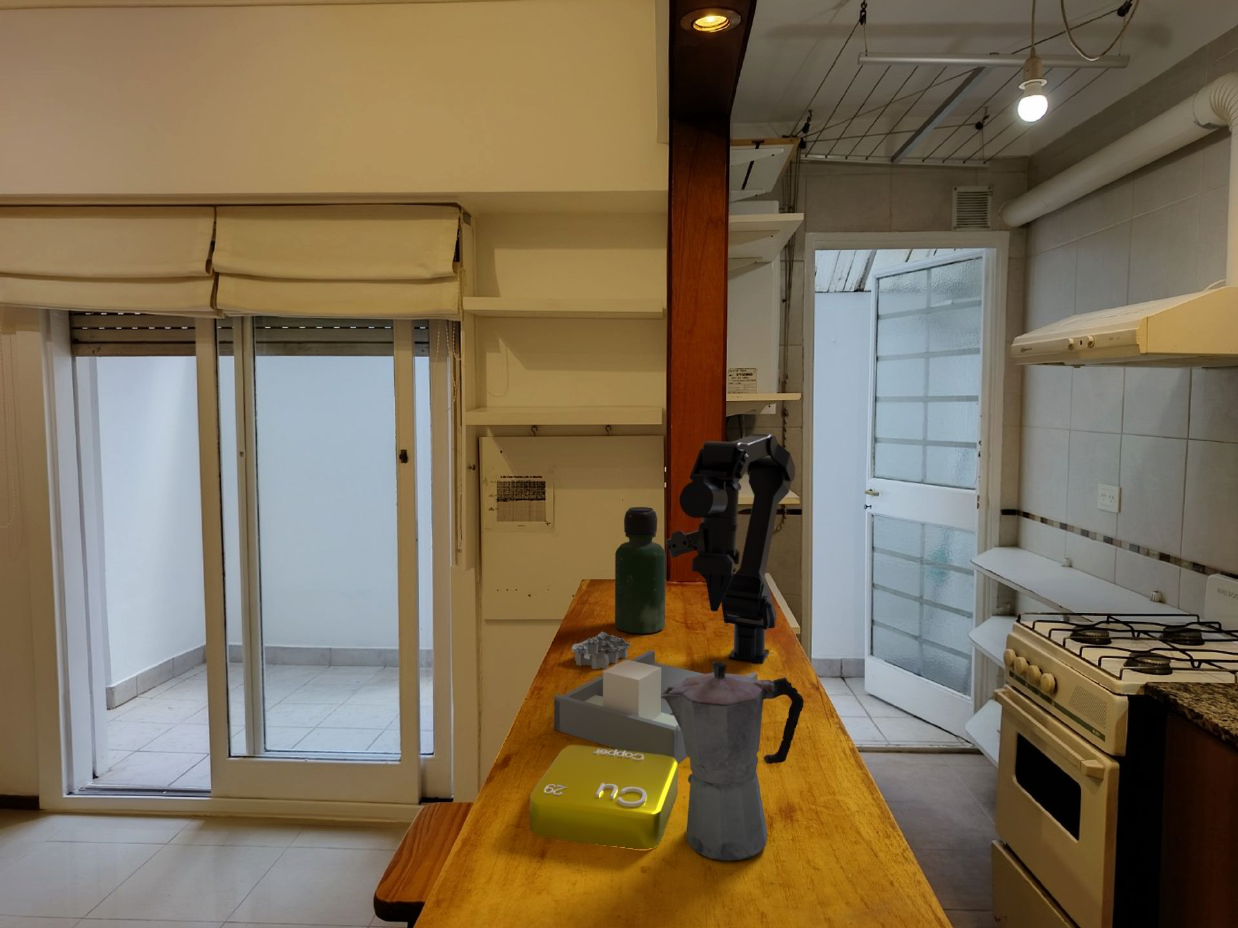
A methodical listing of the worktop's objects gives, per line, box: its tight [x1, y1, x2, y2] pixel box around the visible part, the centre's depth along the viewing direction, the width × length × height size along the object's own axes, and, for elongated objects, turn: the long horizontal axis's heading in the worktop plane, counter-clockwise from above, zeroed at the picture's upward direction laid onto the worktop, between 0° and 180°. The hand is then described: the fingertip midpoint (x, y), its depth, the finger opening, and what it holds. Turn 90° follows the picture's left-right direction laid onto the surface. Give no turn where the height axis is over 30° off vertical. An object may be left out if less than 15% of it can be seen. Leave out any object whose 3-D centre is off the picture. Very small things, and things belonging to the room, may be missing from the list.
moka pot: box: [660, 661, 805, 862], centre depth 85 cm, size 10×15×20 cm, turn 95°
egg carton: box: [571, 631, 632, 670], centre depth 143 cm, size 11×8×4 cm
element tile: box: [529, 744, 679, 849], centre depth 92 cm, size 15×15×5 cm
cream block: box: [602, 658, 661, 720], centre depth 112 cm, size 6×6×7 cm
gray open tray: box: [553, 649, 759, 764], centre depth 118 cm, size 26×20×5 cm
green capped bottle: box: [614, 506, 667, 635], centre depth 162 cm, size 10×10×25 cm
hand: (714, 610), depth 129 cm, fingers closed
